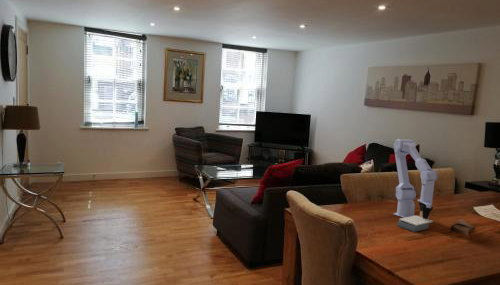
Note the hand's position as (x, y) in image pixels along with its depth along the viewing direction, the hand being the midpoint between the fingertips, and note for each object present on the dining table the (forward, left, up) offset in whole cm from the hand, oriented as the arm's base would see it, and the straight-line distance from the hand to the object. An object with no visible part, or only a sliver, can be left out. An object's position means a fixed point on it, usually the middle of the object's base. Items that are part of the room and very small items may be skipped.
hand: (424, 217), depth 192 cm
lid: (+7, 0, -2) cm, 7 cm away
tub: (+9, 0, -4) cm, 10 cm away
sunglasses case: (-15, +13, -5) cm, 20 cm away
